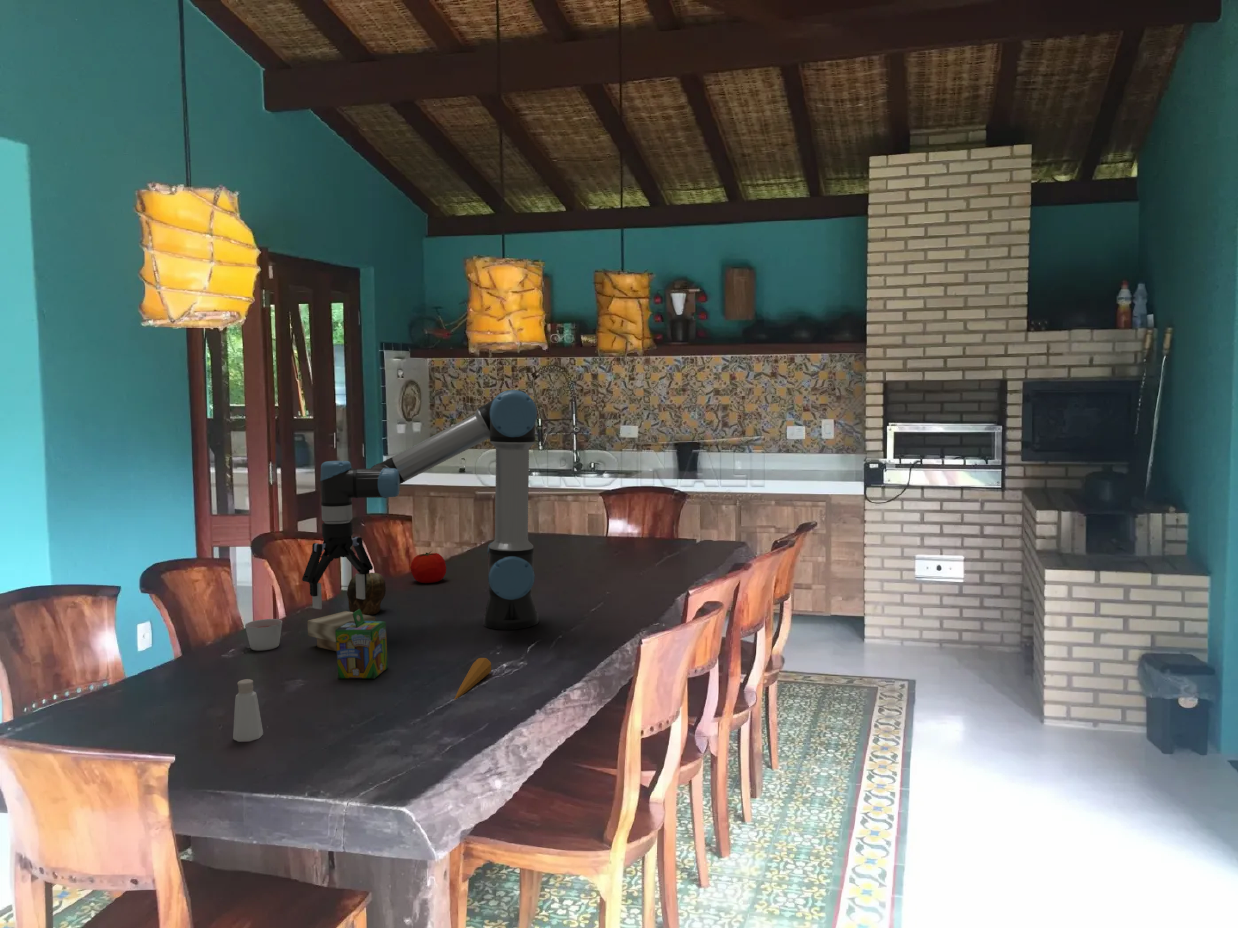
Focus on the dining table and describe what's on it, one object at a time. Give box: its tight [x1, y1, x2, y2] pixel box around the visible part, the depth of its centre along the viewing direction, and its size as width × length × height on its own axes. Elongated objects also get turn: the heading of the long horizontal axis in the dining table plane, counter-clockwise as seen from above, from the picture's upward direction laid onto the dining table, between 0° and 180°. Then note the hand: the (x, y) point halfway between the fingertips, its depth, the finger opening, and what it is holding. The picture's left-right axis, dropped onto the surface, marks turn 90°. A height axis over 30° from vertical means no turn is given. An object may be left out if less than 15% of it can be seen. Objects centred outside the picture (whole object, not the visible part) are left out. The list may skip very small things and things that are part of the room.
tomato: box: [410, 551, 447, 584], centre depth 326 cm, size 12×12×10 cm
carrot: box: [453, 657, 492, 701], centre depth 214 cm, size 20×4×4 cm, turn 169°
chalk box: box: [335, 609, 389, 680], centre depth 224 cm, size 9×9×15 cm
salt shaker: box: [232, 678, 264, 743], centre depth 185 cm, size 5×5×11 cm
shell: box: [346, 572, 387, 616], centre depth 284 cm, size 11×11×12 cm
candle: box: [244, 618, 283, 652], centre depth 249 cm, size 9×9×6 cm
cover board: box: [307, 610, 377, 642], centre depth 249 cm, size 12×12×4 cm
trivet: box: [316, 638, 336, 652], centre depth 249 cm, size 9×9×3 cm
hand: (339, 603), depth 248 cm, fingers open, 13 cm apart
